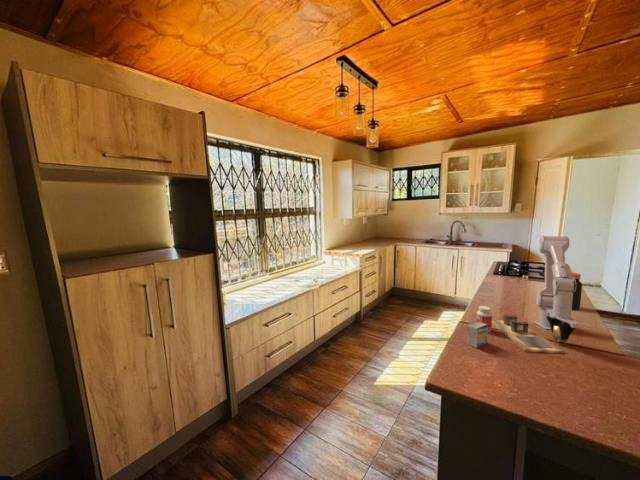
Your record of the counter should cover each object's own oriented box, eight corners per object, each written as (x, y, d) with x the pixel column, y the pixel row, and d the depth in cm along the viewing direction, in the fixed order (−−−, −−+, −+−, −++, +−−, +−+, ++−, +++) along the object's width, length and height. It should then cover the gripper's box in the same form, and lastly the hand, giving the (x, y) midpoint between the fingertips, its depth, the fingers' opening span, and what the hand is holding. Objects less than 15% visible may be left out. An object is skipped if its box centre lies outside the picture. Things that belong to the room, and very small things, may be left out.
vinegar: (566, 309, 145) (569, 274, 143) (560, 305, 151) (563, 272, 149) (582, 311, 142) (585, 275, 140) (576, 306, 149) (579, 272, 146)
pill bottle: (493, 330, 124) (494, 308, 123) (487, 333, 121) (488, 311, 119) (479, 325, 129) (480, 304, 128) (473, 328, 126) (474, 307, 125)
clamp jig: (519, 322, 131) (520, 312, 130) (563, 353, 103) (564, 340, 103) (489, 321, 133) (490, 312, 132) (524, 351, 105) (525, 339, 105)
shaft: (514, 323, 128) (514, 315, 127) (526, 331, 119) (526, 323, 118) (503, 322, 128) (503, 315, 128) (514, 331, 120) (514, 322, 119)
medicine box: (476, 348, 109) (477, 328, 108) (466, 343, 113) (466, 324, 112) (487, 343, 112) (488, 324, 111) (477, 339, 116) (478, 320, 115)
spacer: (561, 337, 112) (562, 324, 111) (569, 342, 108) (570, 328, 107) (549, 336, 113) (550, 323, 112) (557, 342, 109) (558, 328, 108)
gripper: (539, 299, 116) (537, 328, 118) (565, 312, 102) (562, 344, 104) (557, 299, 115) (554, 328, 117) (585, 312, 101) (582, 345, 103)
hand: (559, 336), depth 110 cm, fingers closed on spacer, 4 cm apart
